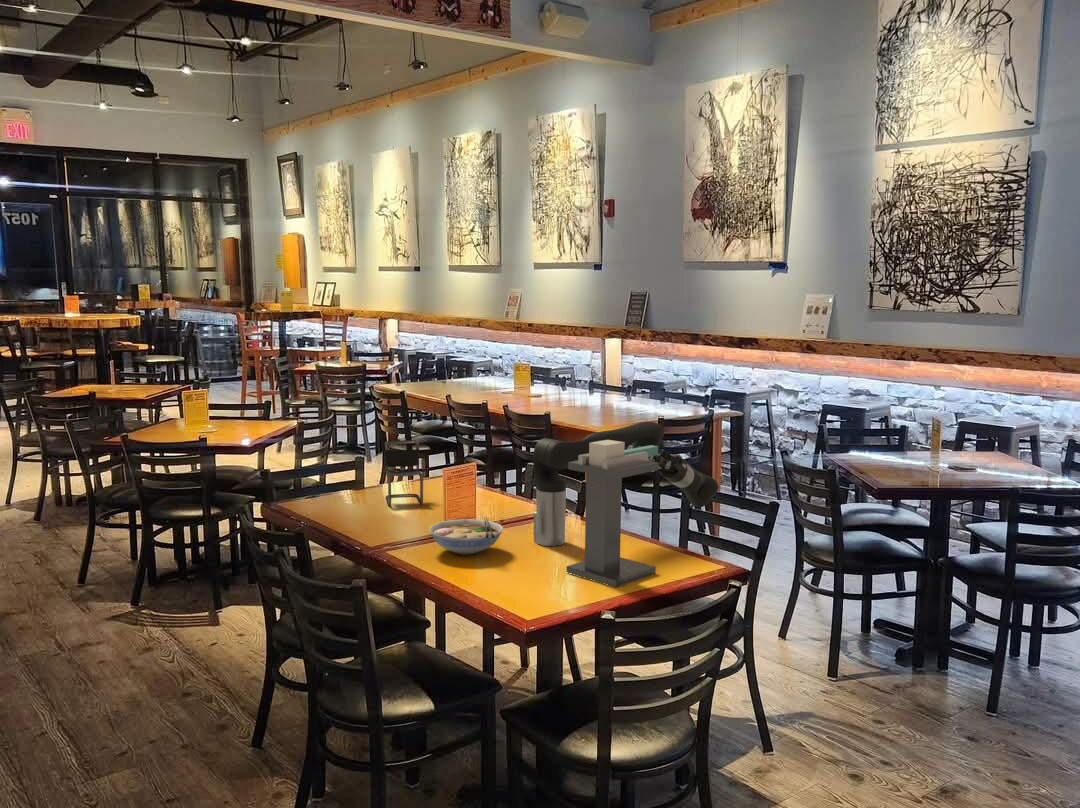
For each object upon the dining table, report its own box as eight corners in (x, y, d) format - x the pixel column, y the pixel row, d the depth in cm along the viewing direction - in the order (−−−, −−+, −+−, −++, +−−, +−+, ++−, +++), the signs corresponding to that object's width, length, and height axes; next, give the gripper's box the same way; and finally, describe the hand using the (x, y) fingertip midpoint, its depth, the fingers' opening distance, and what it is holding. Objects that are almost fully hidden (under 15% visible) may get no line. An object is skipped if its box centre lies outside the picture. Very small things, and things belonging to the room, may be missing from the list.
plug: (589, 464, 254) (589, 442, 253) (646, 453, 273) (646, 433, 272) (605, 467, 250) (606, 445, 249) (662, 455, 268) (663, 435, 268)
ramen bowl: (429, 541, 292) (429, 516, 291) (501, 540, 294) (501, 515, 293) (427, 564, 267) (427, 536, 266) (505, 563, 270) (505, 535, 269)
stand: (566, 573, 260) (568, 453, 256) (606, 560, 273) (609, 446, 269) (615, 587, 248) (618, 462, 244) (655, 573, 261) (658, 454, 257)
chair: (418, 495, 357) (418, 439, 354) (423, 505, 340) (423, 447, 338) (384, 497, 354) (384, 440, 351) (388, 507, 337) (387, 448, 335)
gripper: (662, 457, 286) (634, 436, 275) (700, 463, 276) (674, 441, 265) (654, 479, 284) (626, 459, 273) (692, 486, 274) (665, 465, 263)
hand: (649, 450), depth 269 cm, fingers open, 8 cm apart
